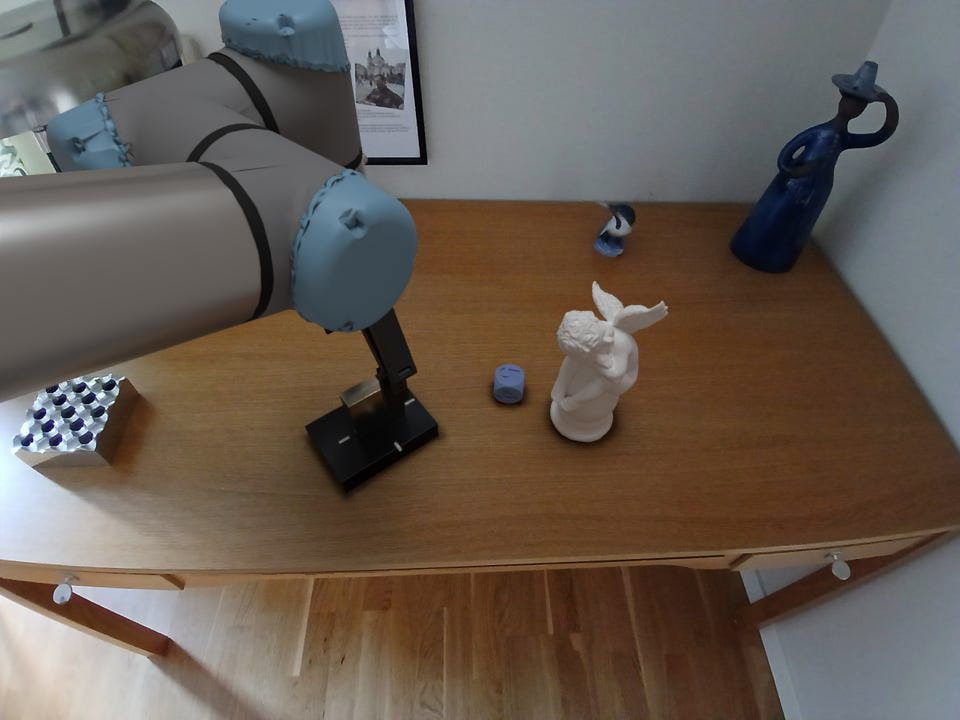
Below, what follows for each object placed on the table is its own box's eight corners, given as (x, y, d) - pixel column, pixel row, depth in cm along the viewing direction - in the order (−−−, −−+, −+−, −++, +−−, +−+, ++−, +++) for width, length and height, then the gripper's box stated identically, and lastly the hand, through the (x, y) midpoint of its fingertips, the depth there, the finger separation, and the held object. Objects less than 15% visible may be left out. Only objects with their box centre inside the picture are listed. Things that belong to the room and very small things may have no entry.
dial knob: (358, 440, 70) (348, 405, 64) (349, 428, 71) (338, 392, 65) (405, 413, 73) (399, 377, 67) (396, 401, 74) (389, 364, 68)
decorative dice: (521, 404, 78) (523, 387, 75) (493, 402, 78) (494, 385, 75) (523, 382, 80) (525, 364, 77) (495, 379, 81) (496, 362, 77)
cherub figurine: (543, 443, 74) (565, 331, 57) (536, 370, 82) (554, 252, 65) (634, 443, 74) (683, 331, 57) (618, 370, 82) (657, 253, 65)
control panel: (348, 497, 69) (343, 485, 66) (307, 435, 74) (301, 422, 72) (441, 438, 74) (440, 425, 72) (396, 385, 80) (394, 371, 77)
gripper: (448, 266, 42) (455, 419, 59) (301, 130, 55) (341, 288, 71) (361, 309, 39) (395, 457, 56) (227, 155, 52) (286, 314, 68)
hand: (364, 363), depth 63 cm, fingers open, 13 cm apart
